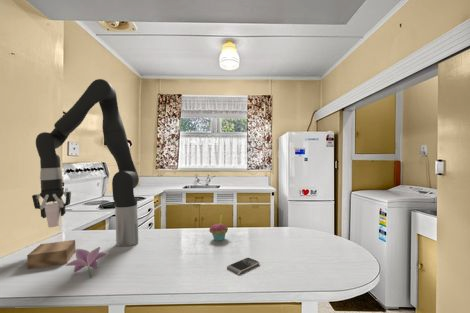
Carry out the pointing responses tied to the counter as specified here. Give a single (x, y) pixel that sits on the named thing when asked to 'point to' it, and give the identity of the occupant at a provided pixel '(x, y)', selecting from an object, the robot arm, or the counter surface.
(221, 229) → the cupcake
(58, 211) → the smoothie
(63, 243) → the walnut block
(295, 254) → the counter surface
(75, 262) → the lily
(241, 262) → the cell phone
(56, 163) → the robot arm
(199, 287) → the counter surface
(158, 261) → the counter surface
